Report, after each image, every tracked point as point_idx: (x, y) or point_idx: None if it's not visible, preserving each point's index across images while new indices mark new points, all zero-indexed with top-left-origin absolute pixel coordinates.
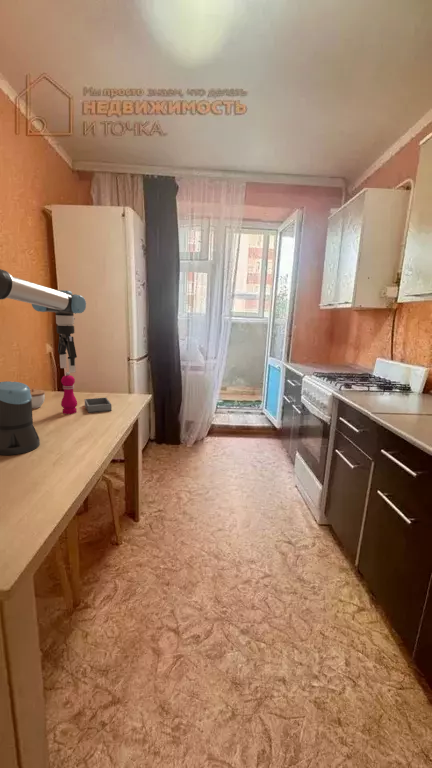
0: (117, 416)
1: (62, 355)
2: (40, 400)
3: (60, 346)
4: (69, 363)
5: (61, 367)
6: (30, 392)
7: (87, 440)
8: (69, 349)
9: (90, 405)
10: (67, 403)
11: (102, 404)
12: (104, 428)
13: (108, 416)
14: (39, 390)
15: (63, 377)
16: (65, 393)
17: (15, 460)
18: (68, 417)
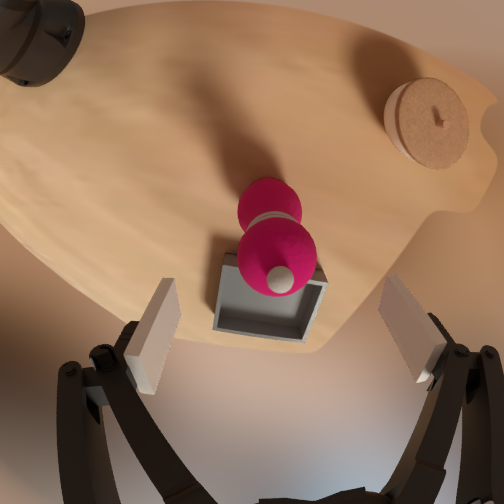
0: None
1: (425, 357)
2: (389, 134)
3: (454, 424)
4: (139, 326)
5: (387, 281)
6: (431, 110)
7: (22, 186)
8: (66, 432)
9: None
10: (242, 200)
11: (288, 316)
12: (72, 243)
13: None
14: (444, 154)
15: (271, 240)
16: (262, 211)
17: None
18: (207, 181)
